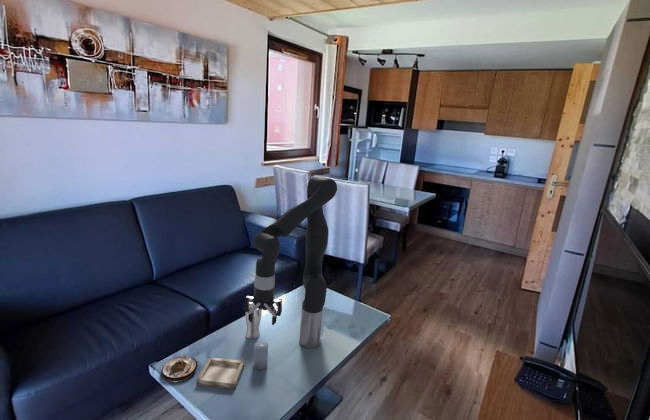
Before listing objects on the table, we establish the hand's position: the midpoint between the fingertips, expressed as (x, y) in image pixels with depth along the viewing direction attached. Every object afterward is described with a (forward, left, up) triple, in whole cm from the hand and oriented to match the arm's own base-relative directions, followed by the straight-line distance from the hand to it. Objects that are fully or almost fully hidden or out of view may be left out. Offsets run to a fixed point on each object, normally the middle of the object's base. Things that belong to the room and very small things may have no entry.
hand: (262, 322), depth 129 cm
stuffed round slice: (+29, +8, -20) cm, 36 cm away
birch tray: (+13, +8, -19) cm, 25 cm away
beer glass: (+8, -18, -19) cm, 28 cm away
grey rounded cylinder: (0, 0, -19) cm, 19 cm away
